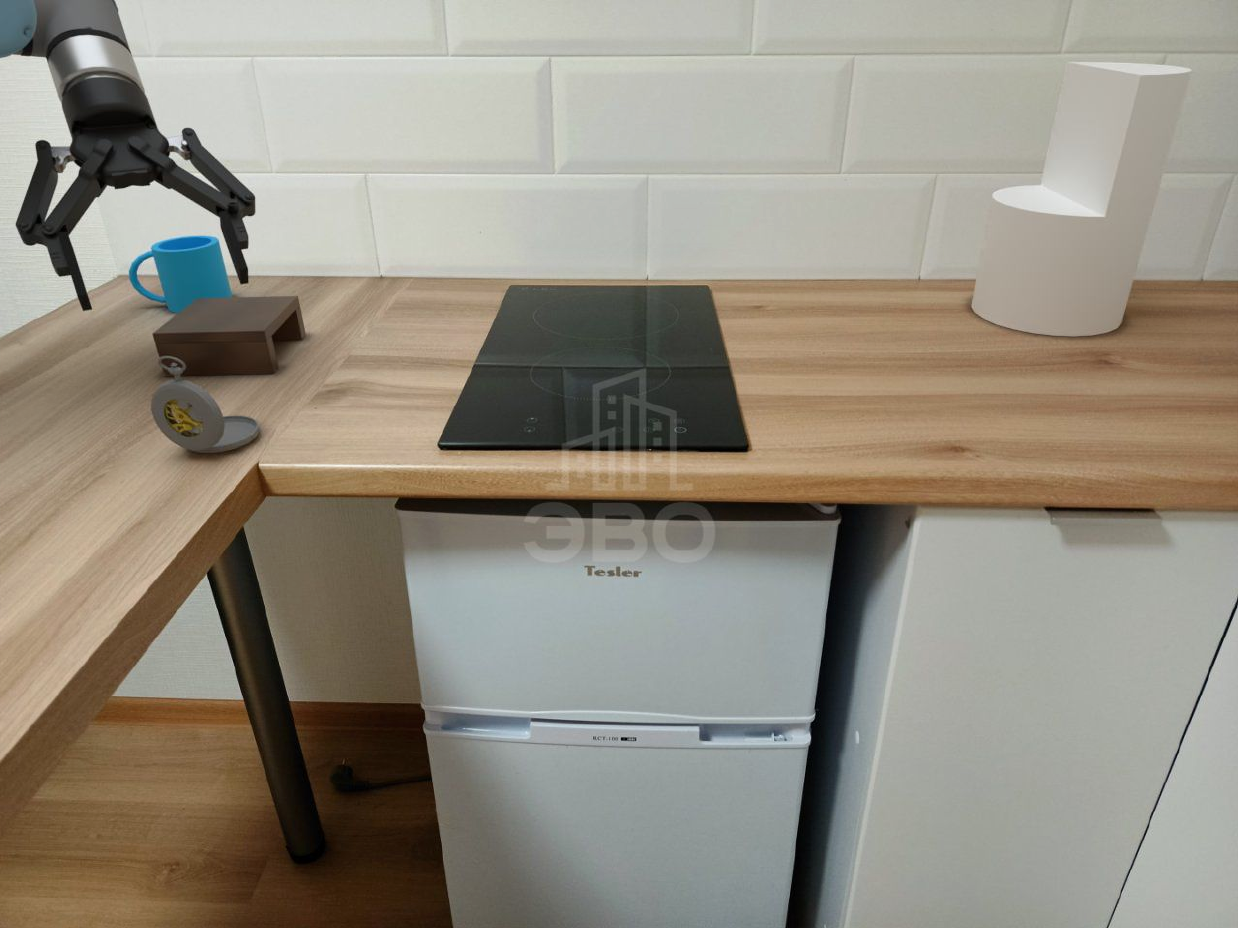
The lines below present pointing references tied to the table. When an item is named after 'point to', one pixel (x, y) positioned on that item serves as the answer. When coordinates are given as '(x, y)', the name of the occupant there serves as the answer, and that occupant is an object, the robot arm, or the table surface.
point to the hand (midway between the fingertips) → (167, 289)
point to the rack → (229, 335)
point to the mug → (185, 271)
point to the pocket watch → (197, 416)
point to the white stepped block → (1082, 204)
